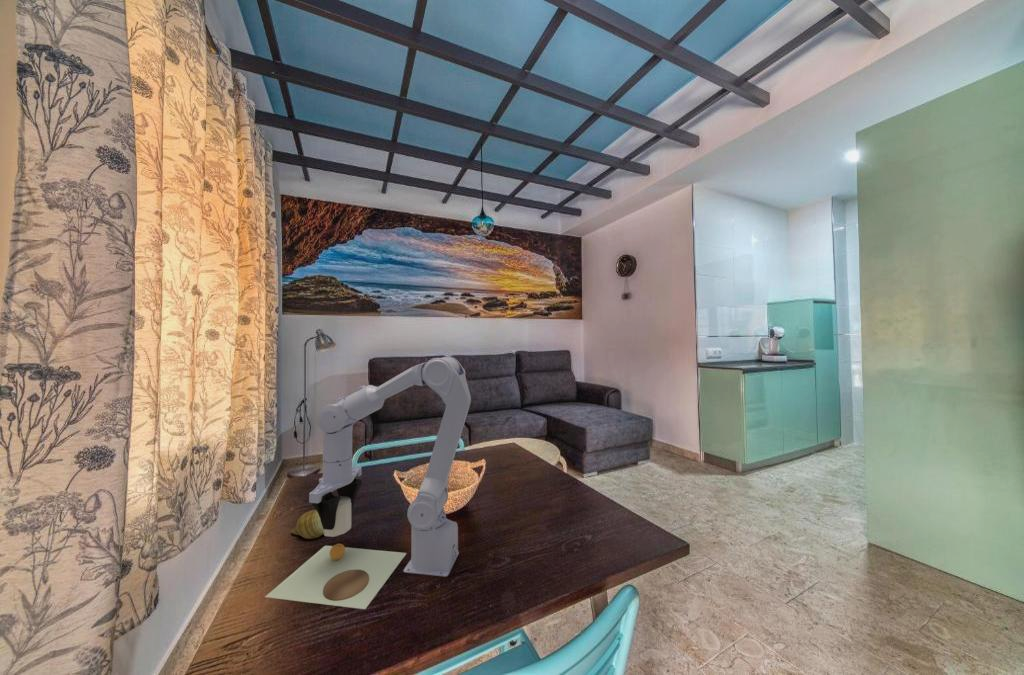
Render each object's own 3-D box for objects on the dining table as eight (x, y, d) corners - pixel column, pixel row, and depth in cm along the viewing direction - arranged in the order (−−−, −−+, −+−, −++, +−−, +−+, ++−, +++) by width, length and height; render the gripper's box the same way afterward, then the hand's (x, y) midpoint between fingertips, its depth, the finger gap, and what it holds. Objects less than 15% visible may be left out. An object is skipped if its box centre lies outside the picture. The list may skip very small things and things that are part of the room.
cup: (355, 524, 75) (355, 497, 76) (340, 537, 70) (340, 508, 70) (334, 522, 76) (334, 495, 76) (317, 535, 71) (318, 506, 71)
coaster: (377, 572, 69) (377, 571, 69) (352, 602, 61) (352, 601, 61) (341, 569, 70) (341, 567, 70) (312, 598, 62) (312, 596, 62)
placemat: (406, 554, 75) (406, 553, 75) (365, 611, 59) (365, 609, 59) (325, 547, 78) (325, 545, 78) (264, 599, 62) (264, 596, 62)
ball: (348, 555, 74) (348, 541, 74) (339, 563, 71) (339, 549, 71) (335, 553, 75) (335, 540, 75) (326, 562, 72) (326, 548, 72)
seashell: (295, 552, 83) (277, 539, 78) (304, 522, 89) (288, 508, 84) (335, 543, 84) (319, 529, 78) (341, 514, 89) (327, 499, 84)
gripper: (342, 447, 81) (342, 504, 81) (295, 469, 67) (295, 539, 67) (369, 448, 80) (369, 506, 80) (327, 471, 66) (327, 541, 66)
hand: (337, 521), depth 73 cm, fingers closed on cup, 5 cm apart
